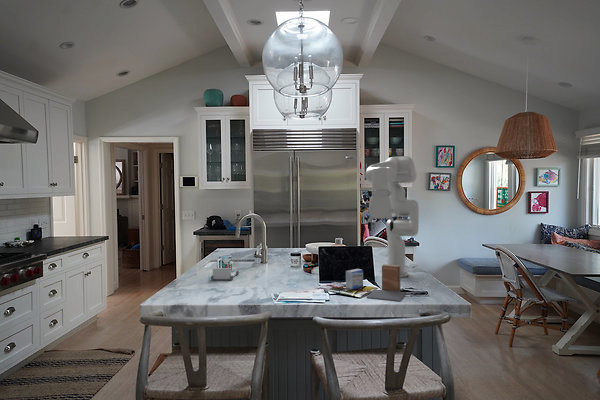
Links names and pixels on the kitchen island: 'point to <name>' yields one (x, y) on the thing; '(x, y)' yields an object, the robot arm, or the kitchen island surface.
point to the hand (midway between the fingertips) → (380, 230)
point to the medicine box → (354, 278)
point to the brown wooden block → (391, 277)
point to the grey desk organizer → (224, 272)
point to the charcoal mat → (386, 295)
